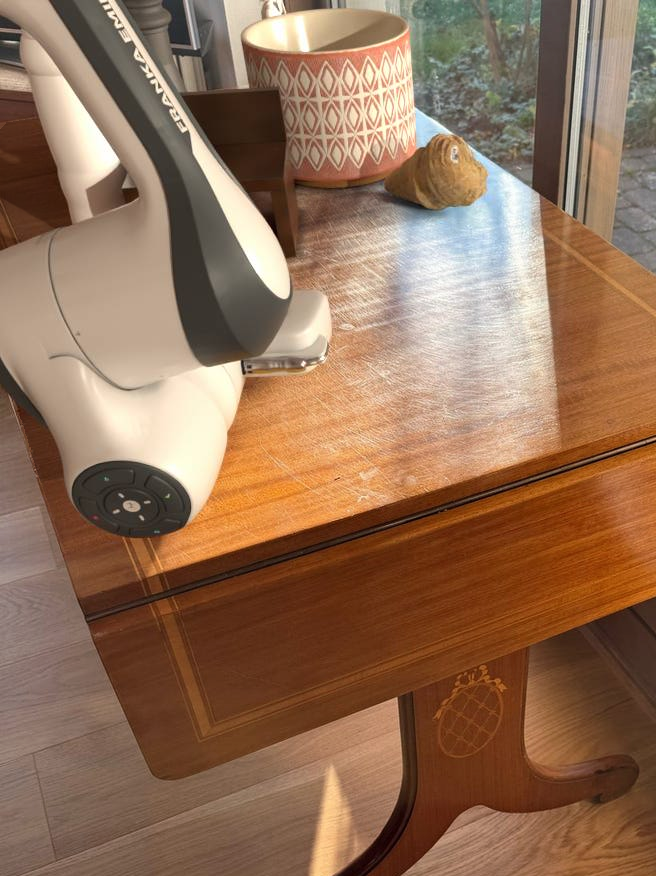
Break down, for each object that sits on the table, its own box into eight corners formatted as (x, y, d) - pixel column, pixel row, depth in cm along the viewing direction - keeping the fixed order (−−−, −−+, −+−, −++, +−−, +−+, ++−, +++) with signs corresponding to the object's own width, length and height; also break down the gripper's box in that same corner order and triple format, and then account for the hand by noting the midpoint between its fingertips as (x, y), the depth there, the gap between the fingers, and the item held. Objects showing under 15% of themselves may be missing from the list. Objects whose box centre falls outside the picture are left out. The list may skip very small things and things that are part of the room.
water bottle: (153, 223, 111) (86, -43, 93) (118, 248, 106) (39, -26, 88) (101, 216, 112) (24, -46, 95) (63, 241, 108) (-25, -30, 90)
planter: (321, 208, 113) (302, 63, 102) (234, 165, 123) (208, 30, 113) (449, 164, 121) (443, 27, 111) (358, 128, 132) (344, -1, 121)
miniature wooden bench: (142, 267, 103) (106, 134, 93) (157, 221, 111) (124, 95, 102) (296, 256, 104) (275, 123, 94) (298, 212, 112) (279, 86, 103)
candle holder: (225, 198, 115) (173, -59, 98) (188, 217, 112) (127, -47, 94) (187, 189, 118) (129, -64, 100) (149, 207, 114) (82, -52, 96)
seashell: (400, 233, 118) (363, 222, 111) (392, 161, 116) (354, 145, 109) (503, 207, 111) (471, 193, 104) (495, 131, 110) (462, 111, 103)
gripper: (319, 326, 68) (335, 243, 78) (26, 336, 68) (78, 252, 78) (331, 405, 73) (344, 317, 83) (56, 415, 73) (102, 325, 83)
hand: (213, 285), depth 80 cm, fingers open, 5 cm apart
